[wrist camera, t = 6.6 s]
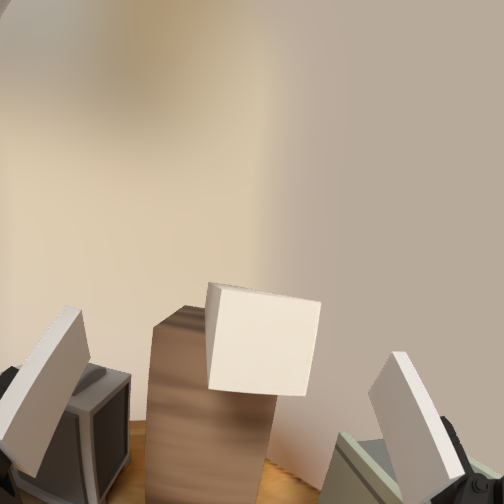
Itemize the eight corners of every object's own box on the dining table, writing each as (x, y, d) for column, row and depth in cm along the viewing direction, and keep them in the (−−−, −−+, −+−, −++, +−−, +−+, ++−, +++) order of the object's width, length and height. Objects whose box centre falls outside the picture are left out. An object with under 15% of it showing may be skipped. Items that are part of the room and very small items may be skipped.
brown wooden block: (235, 577, 17) (285, 346, 20) (150, 567, 16) (153, 327, 19) (227, 484, 37) (253, 315, 40) (169, 477, 36) (185, 305, 39)
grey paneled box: (64, 435, 38) (62, 339, 40) (132, 457, 39) (135, 359, 41) (10, 482, 20) (-12, 361, 22) (95, 523, 21) (82, 401, 23)
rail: (305, 395, 10) (321, 302, 11) (208, 388, 10) (221, 288, 10) (232, 314, 38) (236, 286, 38) (204, 310, 37) (208, 281, 38)
